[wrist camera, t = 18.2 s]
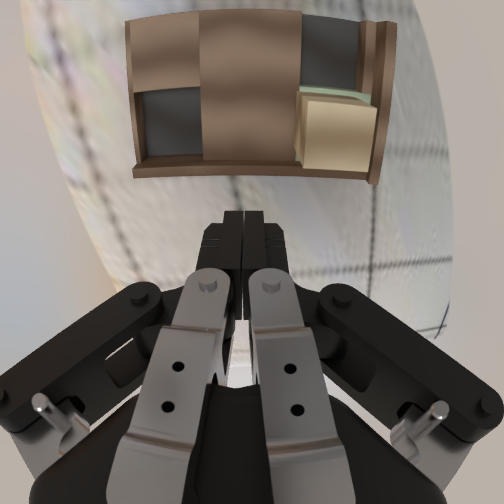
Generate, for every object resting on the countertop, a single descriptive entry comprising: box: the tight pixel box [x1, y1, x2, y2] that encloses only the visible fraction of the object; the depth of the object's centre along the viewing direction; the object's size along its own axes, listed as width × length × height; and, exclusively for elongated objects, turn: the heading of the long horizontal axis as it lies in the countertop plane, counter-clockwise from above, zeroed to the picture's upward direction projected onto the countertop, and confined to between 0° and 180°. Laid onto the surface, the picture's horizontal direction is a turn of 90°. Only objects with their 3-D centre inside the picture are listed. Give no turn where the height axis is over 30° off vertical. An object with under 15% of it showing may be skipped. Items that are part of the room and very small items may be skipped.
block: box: [294, 91, 377, 172], centre depth 25 cm, size 6×6×6 cm
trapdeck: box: [125, 9, 397, 185], centre depth 26 cm, size 16×24×5 cm, turn 90°
